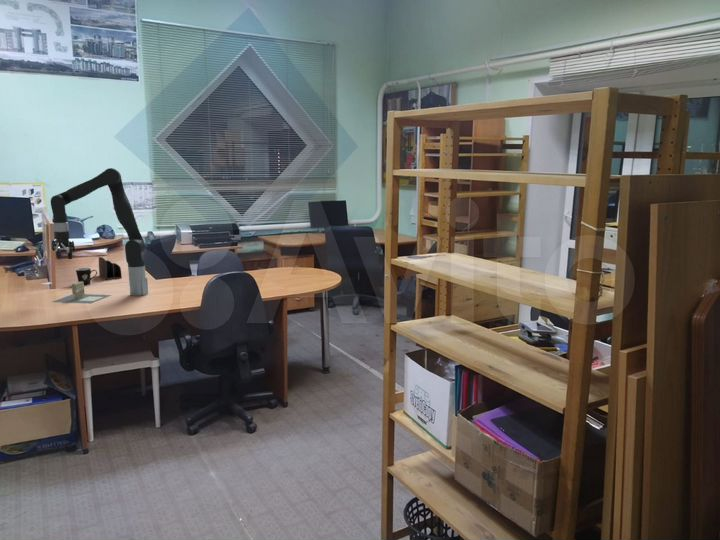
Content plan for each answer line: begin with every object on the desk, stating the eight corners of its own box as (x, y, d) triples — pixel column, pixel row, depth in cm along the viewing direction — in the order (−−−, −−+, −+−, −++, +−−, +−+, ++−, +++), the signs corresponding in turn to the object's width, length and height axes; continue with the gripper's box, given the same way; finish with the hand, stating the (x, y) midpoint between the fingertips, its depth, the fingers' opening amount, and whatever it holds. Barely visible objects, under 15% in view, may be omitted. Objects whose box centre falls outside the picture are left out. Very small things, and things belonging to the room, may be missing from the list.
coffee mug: (75, 286, 343) (73, 270, 341) (79, 283, 352) (78, 268, 350) (94, 285, 346) (93, 270, 344) (98, 282, 354) (97, 267, 352)
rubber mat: (112, 296, 315) (112, 295, 315) (91, 305, 295) (91, 303, 295) (74, 295, 318) (74, 293, 318) (51, 303, 298) (50, 301, 298)
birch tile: (84, 296, 310) (83, 281, 308) (77, 299, 303) (75, 284, 301) (80, 296, 310) (79, 281, 309) (72, 299, 303) (71, 284, 302)
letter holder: (106, 280, 362) (104, 259, 359) (99, 275, 377) (97, 255, 375) (122, 278, 368) (120, 258, 366) (114, 274, 383) (112, 254, 381)
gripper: (76, 230, 305) (79, 258, 308) (57, 229, 310) (60, 257, 313) (65, 231, 298) (68, 260, 301) (46, 230, 303) (49, 259, 306)
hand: (64, 258), depth 307 cm, fingers open, 8 cm apart
